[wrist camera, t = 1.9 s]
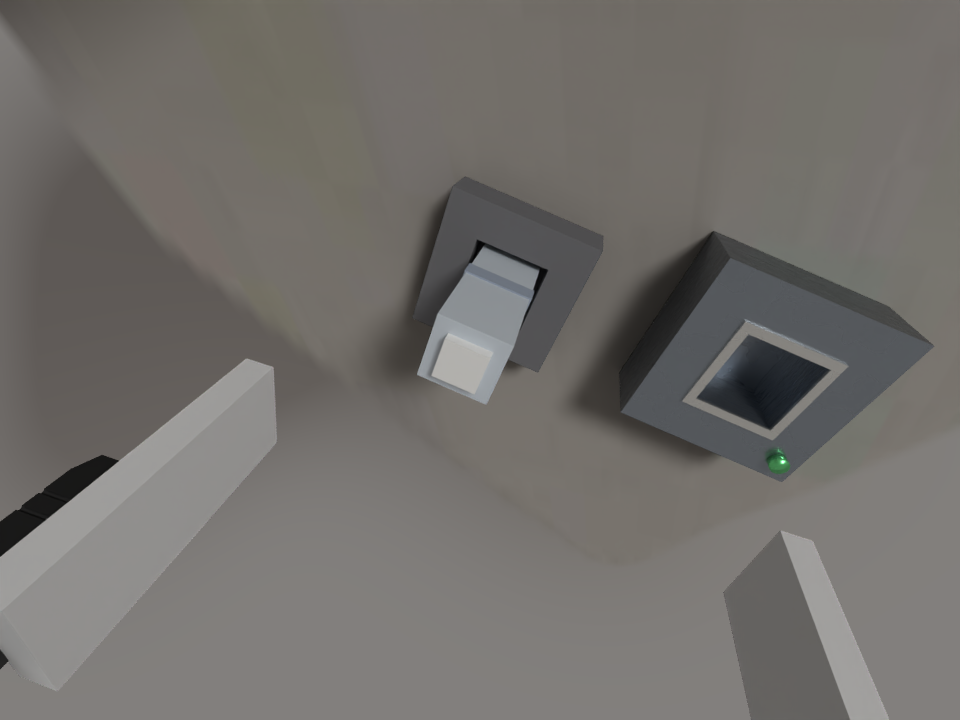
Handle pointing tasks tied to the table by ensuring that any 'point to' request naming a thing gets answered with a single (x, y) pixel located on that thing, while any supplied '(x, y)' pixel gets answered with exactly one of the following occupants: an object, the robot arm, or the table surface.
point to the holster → (518, 232)
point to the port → (763, 358)
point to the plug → (479, 324)
